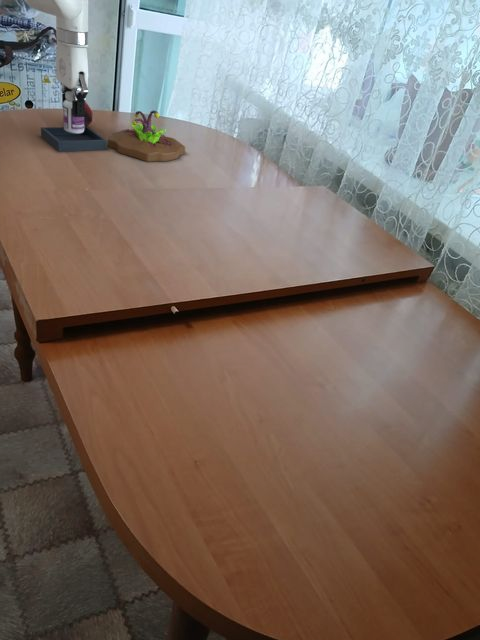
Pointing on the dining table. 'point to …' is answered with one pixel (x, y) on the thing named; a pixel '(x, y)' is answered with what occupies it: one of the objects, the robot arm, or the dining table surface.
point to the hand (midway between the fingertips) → (73, 112)
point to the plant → (146, 141)
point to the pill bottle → (71, 116)
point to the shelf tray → (73, 139)
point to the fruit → (87, 115)
